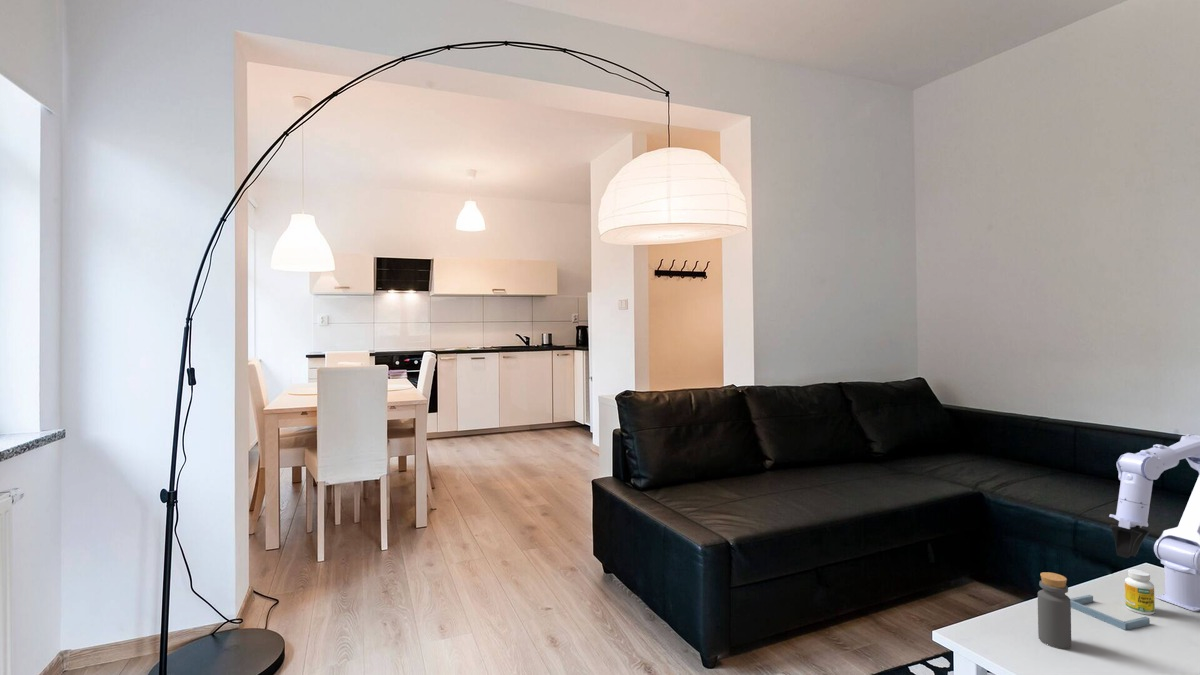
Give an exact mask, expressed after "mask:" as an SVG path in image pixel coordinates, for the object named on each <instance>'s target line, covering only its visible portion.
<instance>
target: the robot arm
mask: <svg viewBox="0 0 1200 675" xmlns="http://www.w3.org/2000/svg"><path fill="white" fill-rule="evenodd" d="M1184 459H1185V460H1186V461H1187V462H1188V464H1189V466H1190V468H1192V469H1193V470H1195V471H1197V472H1198V477H1197V478H1196V479H1197V480H1196V482H1195V484H1194V487H1193V489H1192V490H1191V494H1190V496H1189V499H1188V501H1187V504H1186V506H1185V509H1184V511H1183V513H1182V516H1181V518H1180V521H1179V523H1178V525H1177V526H1176V527H1172V528H1168V529H1165V530H1163V531H1162V533H1161V535H1160V536H1159V538H1158V539H1156V541H1155V542H1154V545H1153V552H1154V554H1155V556H1156V557H1157V559H1159V560H1160V564H1162V565H1163V566H1164V568H1163V569H1164V572H1163V574H1164V594H1163V593H1162V594H1157V595H1156V596H1155V598H1156V599H1159V600H1162V601H1164V602H1165V603H1166V602H1167V603H1170V604H1172V605H1176V606H1178V607H1180V608H1183V609H1186V610H1189V611H1191V612H1198V611H1200V435H1198V434H1197V435H1195V434H1192V433H1188V434H1186V435H1182V436H1181V437H1180V439H1179V441H1178V442H1176V443H1173V444H1171V445H1169V446H1166V445H1164V444H1157V443H1156V444H1153V445H1152V447H1150V448H1147V449H1142V450H1140V451H1139V452H1135V453H1132V452H1126V453H1124V454H1121V455H1120V456H1119V458H1118V459H1117V461H1116V468H1117V469H1116V470H1117V471H1118V472H1117V473H1118V480H1119V481H1120V485H1119V490H1118V491H1119V492H1118V499H1117V506H1116V513H1115V514H1112V513H1110V514H1109V516H1108V517H1109V518H1113V519H1115V520H1116V521H1118V525H1116V524H1111V523H1110V524H1109V528H1110V530H1111V532H1112V535H1113V537H1114V538H1113V539H1114V543H1115V544H1114V545H1115V551H1116V552H1115V553H1116V555H1117V556H1118V557H1121V558H1125V559H1130V557H1136V556H1137V554H1138V553H1139V551H1140V547H1141V545H1142V543H1143V541H1144V540H1145V538H1147V536H1148V535H1149V534H1150V532H1151V531H1150V530H1148V529H1145V528H1142V527H1146V528H1147V527H1149V523H1148V521H1149V520H1148V519H1149V514H1150V513H1149V512H1150V504H1151V500H1152V499H1151V498H1152V492H1153V484H1154V480H1158V479H1159V478H1160V476H1161V474H1163V473H1164V471H1167V470H1169V469H1172V468H1175V467H1177V466H1178V465H1179V464H1180V460H1184Z"/></svg>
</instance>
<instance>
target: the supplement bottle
mask: <svg viewBox="0 0 1200 675" xmlns="http://www.w3.org/2000/svg"><path fill="white" fill-rule="evenodd" d="M1127 575H1128V576H1127V577H1126V578H1125V579H1124V597H1125V599H1124V600H1125V601H1124V602H1125V608H1127V609H1128V610H1130V611H1131V612H1134V613H1136V614H1140V615H1146V616H1150V615H1154V613H1155V586H1154V583H1153V582H1151V574H1150V573H1149V572H1147V571H1144V570H1141V569H1135V568H1134V569H1133V568H1130V569H1128V570H1127Z"/></svg>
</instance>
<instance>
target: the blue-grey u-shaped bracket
mask: <svg viewBox="0 0 1200 675" xmlns="http://www.w3.org/2000/svg"><path fill="white" fill-rule="evenodd" d="M1070 602H1071V609H1074V610H1076V611H1079V612H1081V613H1084V614H1086V615H1088V616H1091V617H1094V618H1095V619H1098V620H1099V621H1103V622H1104V623H1107V624H1110V625H1112V626H1114V627H1116V628H1118V629H1121V630H1124V631H1128V630H1131V629H1136V628H1141V627H1144V626H1149V625H1150V622H1151V620H1150V617H1148V616H1143V617H1142V616H1141V617H1138V618H1134V619H1133V618H1132V619H1129V620H1124V621H1123V620H1120V619H1118V618H1116V617H1113V616H1111V615H1108V614H1106V613H1103V612H1101V611H1099V610H1096V609H1094V608H1091V607H1089V606H1086V605H1084V604H1089V603H1093V602H1094V595H1092V594H1087V595H1081V596H1076V597H1072V598H1070Z"/></svg>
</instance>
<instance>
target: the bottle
mask: <svg viewBox="0 0 1200 675" xmlns="http://www.w3.org/2000/svg"><path fill="white" fill-rule="evenodd" d="M1040 579H1041V580H1039V584H1038V585H1039V587H1040V588H1041V589H1040V590H1038V592H1037V628H1038V630H1037V632H1038V639H1040V640H1041V641H1042V642H1041V641H1040V640H1039V641H1040V642H1041V643H1043V642H1044V643H1043V644H1045V643H1046V644H1045V645H1047V644H1048V645H1047V646H1049V645H1050V646H1049V647H1052V646H1054V647H1053V648H1055V647H1057V648H1056V649H1062V650H1063V649H1064V650H1067V649H1071V647H1072V610H1071V609H1072V607H1071V602H1070V599H1071V598H1070V596H1068V595H1067V594H1068V592H1069V587H1068V585H1067V581H1068V579H1067V577H1066V576H1064V575H1062V574H1059V573H1055V572H1049V571H1048V572H1046V571H1045V572H1040ZM1066 593H1067V594H1066Z"/></svg>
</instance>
